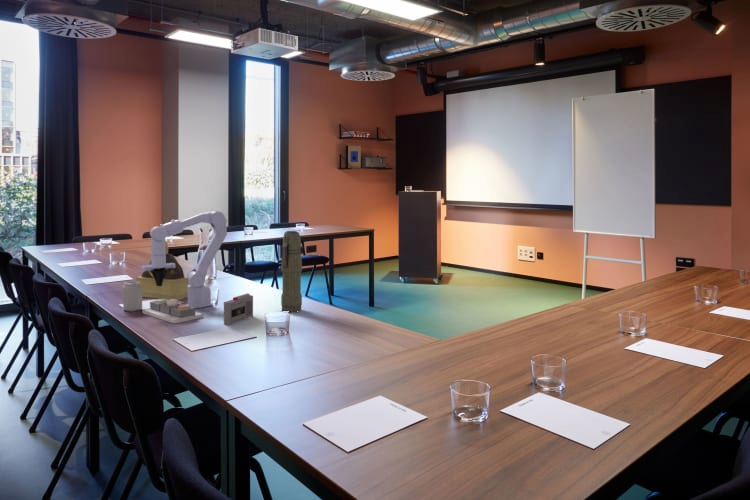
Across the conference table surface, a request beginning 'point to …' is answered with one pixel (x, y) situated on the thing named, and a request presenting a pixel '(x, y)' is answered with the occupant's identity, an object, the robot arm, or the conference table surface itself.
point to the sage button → (161, 301)
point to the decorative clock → (165, 282)
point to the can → (132, 296)
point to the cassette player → (238, 309)
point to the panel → (171, 312)
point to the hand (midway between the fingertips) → (159, 285)
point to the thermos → (291, 272)
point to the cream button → (172, 302)
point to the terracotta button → (182, 307)
